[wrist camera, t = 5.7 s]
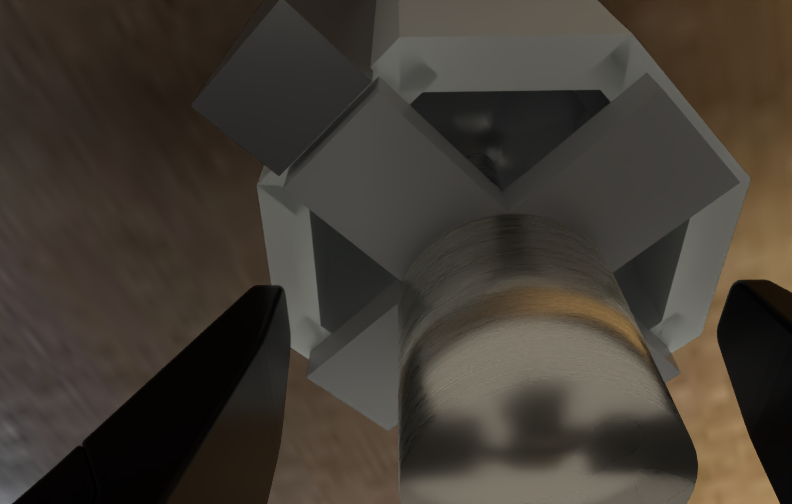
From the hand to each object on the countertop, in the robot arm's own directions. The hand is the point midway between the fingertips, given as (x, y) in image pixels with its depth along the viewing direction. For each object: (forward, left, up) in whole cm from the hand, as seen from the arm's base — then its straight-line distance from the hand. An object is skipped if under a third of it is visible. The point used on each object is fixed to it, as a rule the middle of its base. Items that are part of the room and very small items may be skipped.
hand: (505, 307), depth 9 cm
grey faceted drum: (0, 0, -6) cm, 6 cm away
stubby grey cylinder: (0, 0, -5) cm, 5 cm away
